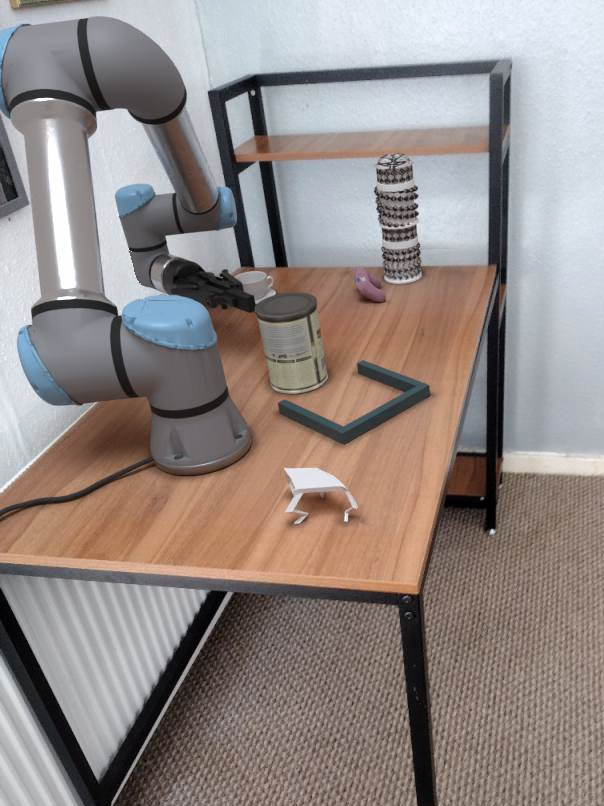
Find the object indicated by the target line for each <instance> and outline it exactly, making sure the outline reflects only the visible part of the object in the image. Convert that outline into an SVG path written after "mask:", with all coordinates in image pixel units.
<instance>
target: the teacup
mask: <svg viewBox="0 0 604 806" xmlns="http://www.w3.org/2000/svg"><path fill="white" fill-rule="evenodd" d="M234 277H235V278H236V279H238V280H239V281H240V282H242V285H243V289H244V292H247V293H248V294H251V295H254V299H255V304H256V305H257V304H258V303H259V302H260V301H262V300H264V299H265V298H268V297H270V296H273V295H277V294H276V293H277V292H276V290H275V289H273V288H271V287H273V285H274V278H273V277H272V276H271V275H268V276H267V273H266V272H264V271H258V270H253V271H246V272H241V273H239V274H236V275H235V276H234ZM269 280H271V282H270V283H269V284H268V281H269Z"/></svg>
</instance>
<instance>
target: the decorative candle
mask: <svg viewBox="0 0 604 806" xmlns="http://www.w3.org/2000/svg"><path fill="white" fill-rule="evenodd" d="M414 163H415V162H414V161H413V160H412V159H410V158H409V156H408V155H407V154H406V153H400V152H399V153H398V152H397V153H396V152H395V153H387V154H384V155H382V156H380V157H379V158H378V161H377V163H375V164H374V166H373V167H374V168H375V171H376V186H375V187H374V190H373V193H374V195H375V196H376V197H375V204H376V208H375V209H376V211H377V213H378V216H377V221H378V223H379V224H378V225H379V227H380V228H381V236H382V237H381V245H382V246H381V247H380V250H381V252H382V254H381V257H382V260H383V261H382V264H381V265H382V267H383V269H382V272H383V274H384V276H383V277H384V278H383V279H384V281H385V282H387V283H390V284H393V285H394V284H395V285H404V284H410V283H414V282H416V281H418V280H420V279H421V278H422V277H423V274H422V269H423V267H422V262H423V261H422V259H421V254H422V252H421V249H420V248H421V244H420V242H419V233H418V228H417V227H418V225H417V224H418V223H419V218H418V216H419V215H420V212H419V211H417V209H418V208H419V204H418V203H416V202H415V201H416V200H417V199H418V198H419V194H418V193H416V192H417V191H419V186H418V185H416V184H415V177H414V169H413V165H414Z"/></svg>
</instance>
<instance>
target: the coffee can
mask: <svg viewBox="0 0 604 806" xmlns="http://www.w3.org/2000/svg"><path fill="white" fill-rule="evenodd" d="M254 313H255V315H256V318H257V323H258V324H257V325H258V329H259V333H260V338H261V343H262V348H263V352H264V358H265V363H266V367H267V368H266V369H267V372H268V377H269V381H270V382H269V383H270V387H271V389H272V390H273V391H275V392H277V393H281V394H285V395H287V394H288V395H298V394H305V393H309V392H311V391H314V390H316V389H319V388H321V387H322V386H323V385H325V384H326V382H327V381H328V379H329V373H328V370H327V369H328V368H327V365H326V364H327V362H326V356H325V350H324V343H323V336H322V331H321V325H320V324H321V323H320V319H319V311H318V299H317V297H316V296H315V295H313V294H311V293H307V292H302V291H301V292H300V291H293V292H292V291H291V292H282V293H277V294H275V295H273V296H270V297H268V298H265V299H264V300H262V301H260V302H259V303H257V304H256V306H255V311H254Z"/></svg>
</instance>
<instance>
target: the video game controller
mask: <svg viewBox="0 0 604 806" xmlns="http://www.w3.org/2000/svg"><path fill="white" fill-rule="evenodd" d="M352 274H353V275H354V277H353V281H354V283H355V285H356V287H357V289H358V291H359V292H360V293H361V295H362V296H363V298H366V300H371V301H373V302H377V303H383V302H385V301H386V298H387V297H386V294H385V293H384V292H383V291H382V289H380V288H381V286H382V281H381V279H380V278H379V277H378V276H376V275H374V274H373V273H371V272H370V271H368V270H367V268H364V267H363V266H361V267H360V268H356V269H355V270H353V273H352Z"/></svg>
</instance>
